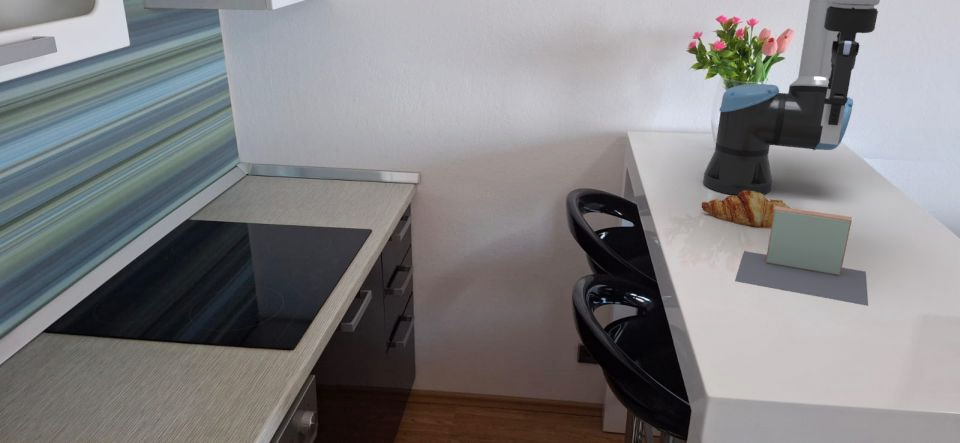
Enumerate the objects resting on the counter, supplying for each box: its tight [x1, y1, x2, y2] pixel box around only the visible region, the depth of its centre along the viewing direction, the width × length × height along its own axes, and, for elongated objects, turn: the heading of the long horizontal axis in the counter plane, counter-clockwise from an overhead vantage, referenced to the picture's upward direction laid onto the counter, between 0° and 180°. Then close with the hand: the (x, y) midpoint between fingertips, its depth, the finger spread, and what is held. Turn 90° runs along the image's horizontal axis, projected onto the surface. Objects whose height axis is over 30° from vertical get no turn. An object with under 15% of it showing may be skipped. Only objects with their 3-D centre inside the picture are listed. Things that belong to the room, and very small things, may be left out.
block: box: [766, 206, 853, 275], centre depth 128 cm, size 2×12×10 cm, turn 66°
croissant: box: [701, 190, 791, 229], centre depth 151 cm, size 21×10×8 cm, turn 71°
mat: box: [734, 250, 869, 307], centre depth 126 cm, size 14×20×1 cm
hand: (828, 134), depth 129 cm, fingers open, 13 cm apart
